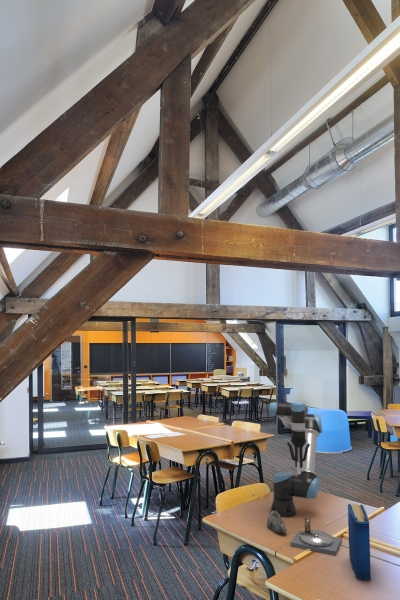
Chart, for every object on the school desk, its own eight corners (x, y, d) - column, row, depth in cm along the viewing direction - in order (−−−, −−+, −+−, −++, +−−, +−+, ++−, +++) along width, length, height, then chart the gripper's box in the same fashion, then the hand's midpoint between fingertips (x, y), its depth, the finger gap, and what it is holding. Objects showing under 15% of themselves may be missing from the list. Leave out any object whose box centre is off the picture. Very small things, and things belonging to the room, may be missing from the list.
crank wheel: (293, 537, 225) (293, 521, 226) (316, 530, 233) (315, 515, 234) (316, 549, 212) (316, 532, 212) (339, 542, 220) (339, 526, 220)
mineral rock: (287, 537, 231) (286, 517, 232) (266, 535, 233) (266, 515, 234) (286, 527, 243) (286, 508, 245) (266, 526, 245) (266, 507, 246)
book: (373, 582, 186) (370, 520, 188) (355, 580, 187) (353, 519, 190) (364, 559, 207) (362, 503, 209) (348, 557, 208) (347, 502, 211)
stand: (298, 534, 235) (298, 529, 235) (341, 542, 225) (341, 537, 225) (290, 546, 219) (290, 541, 220) (335, 555, 210) (335, 550, 210)
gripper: (311, 430, 247) (312, 473, 245) (288, 428, 253) (289, 470, 250) (308, 432, 241) (309, 476, 238) (285, 430, 246) (285, 473, 244)
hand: (299, 473), depth 244 cm, fingers closed
